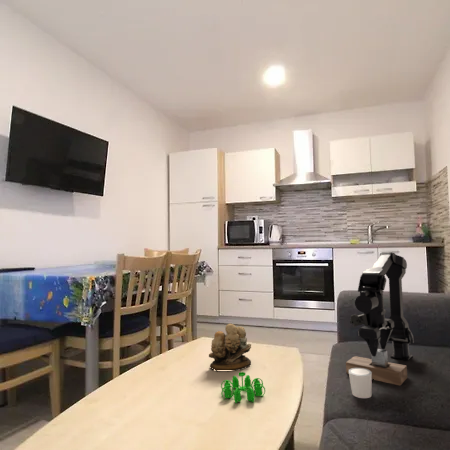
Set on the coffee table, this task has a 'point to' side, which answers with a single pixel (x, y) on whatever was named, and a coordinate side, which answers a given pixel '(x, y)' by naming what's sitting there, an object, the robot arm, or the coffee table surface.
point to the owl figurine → (230, 349)
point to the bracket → (380, 359)
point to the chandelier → (242, 388)
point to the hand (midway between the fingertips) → (378, 352)
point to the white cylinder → (361, 382)
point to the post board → (380, 370)
